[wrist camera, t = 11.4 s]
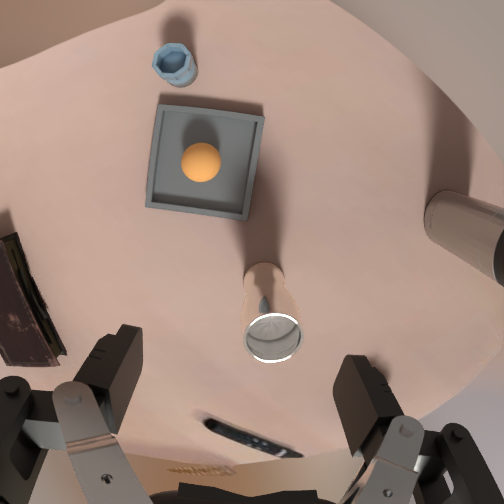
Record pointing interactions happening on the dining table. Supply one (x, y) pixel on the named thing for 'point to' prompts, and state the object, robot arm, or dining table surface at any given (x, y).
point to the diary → (24, 313)
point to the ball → (200, 162)
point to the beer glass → (269, 315)
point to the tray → (231, 153)
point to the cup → (175, 65)
